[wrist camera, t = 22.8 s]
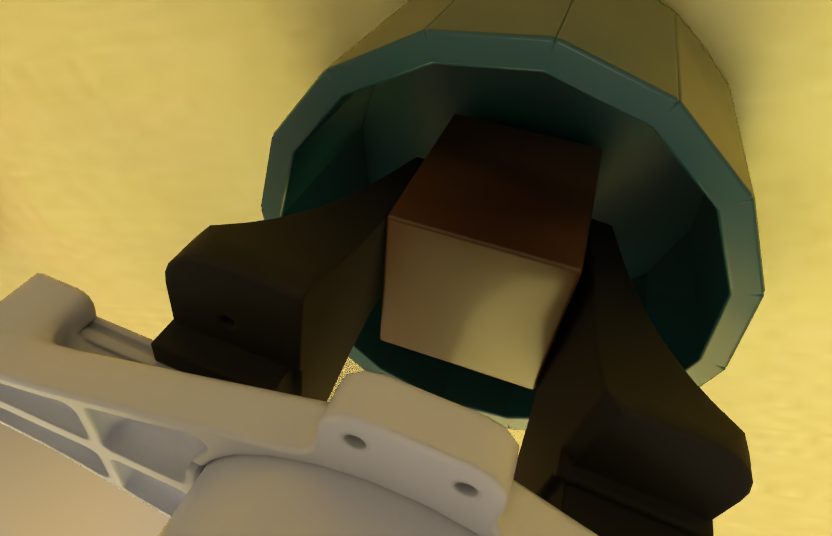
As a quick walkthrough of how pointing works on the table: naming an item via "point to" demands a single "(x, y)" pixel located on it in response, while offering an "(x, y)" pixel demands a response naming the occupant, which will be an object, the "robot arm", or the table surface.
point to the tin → (557, 117)
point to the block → (489, 247)
